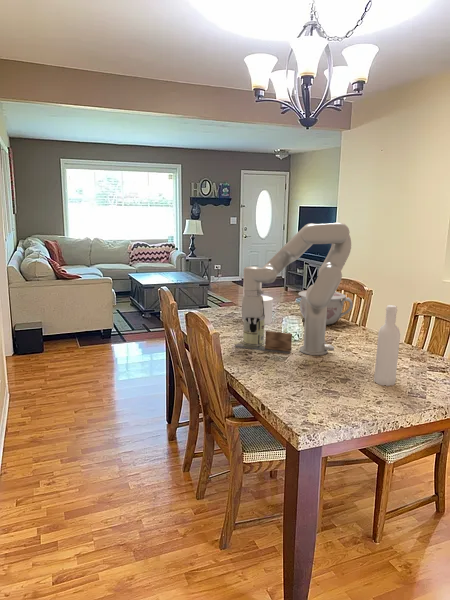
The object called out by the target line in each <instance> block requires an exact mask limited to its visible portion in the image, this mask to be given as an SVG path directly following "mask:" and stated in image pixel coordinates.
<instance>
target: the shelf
mask: <svg viewBox="0 0 450 600" xmlns="http://www.w3.org/2000/svg"><path fill="white" fill-rule="evenodd" d="M292 340H293V333H290V332H289V333H288V332H280V331H271V330H266V331H265V338H264V343H265V345H264V347H265V349H272V350H280V351H289V352H290V353H291V351H292V348H293V347H292Z"/></svg>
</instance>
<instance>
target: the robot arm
mask: <svg viewBox="0 0 450 600" xmlns="http://www.w3.org/2000/svg"><path fill="white" fill-rule="evenodd" d="M328 244H329V245H331V246H330V249H329V251H328V253H327V255H326V257H325V259H324V261H323V263H322V264H321V266H320V267H319V269H318V274H317V278H316V280H315V282H314V284H313V283H312V284H311V285H310V286H309V287H308V288H307V289H306V290H307V292H306V311H305V319H304V331H303V345H302V346H299V351H300V352H301V353H302V354H306V355H309V356H323V355H326V354H328V351H335V346H333V345H332V344H327V341H325V340H326V338H325V337H326V328H327V325H326V316H327V305H328V303H329V302H330V300H331V299H332V297H333V295H334V293H335V292H337V290H338V287H339V286H340V284H341V282H342V278H343V274H342V270H343V268H344V266H345V265H346V262H347V260H348V259H349V256H350V254H351V250H352V239H351V235H350V228H349V227H348V226H347V225H346V224H345V223H343V222H340V221H338V222H333V223H313V222H311V223H307V224H304V226H303V227H302V228H300V230H298V231H297V233H295V234H294V235H293V236H292V237H291V238H290V239H289V241H288V242H286V243H285V244H284V245H283V246H282V247H281V248H280V250H279V251H278V252H276V254H275V255H274V256H272V258H270V259H269V261H267V263H265V264H264V265H263V266H262V267H259V266H257V265H255V266H254V265H252V266H246V267H244V268H243V282H244V296H243V295H242V300H241V320H242V319H244V320H246V321H247V322H248V323H249V324H250V330H251V333H252V332H253V333H254V332H255V331H256V330H257V322H258V321H261V320H264V313H265V312H264V302H263V297H262V296H263V295H264V294H265V293H264V290H262V288H261V289H260V282H262V284H272V283H274V282H275V281H276V279H277V277H278V275H280V273H281V272H282V271H283V270H284V269H285V268H287V267H288V266H289V265H290V264H291V263H294V262H295V261H297V260H298V259H299V258H300V257H302V256H303V254H305V252H307V251H308V249H310V248H311V247H312V246H313V245H328ZM261 295H262V296H261ZM252 318H254V323H253V321H252Z"/></svg>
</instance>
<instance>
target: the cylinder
mask: <svg viewBox="0 0 450 600" xmlns="http://www.w3.org/2000/svg"><path fill="white" fill-rule="evenodd" d="M262 284H263V283H262V282H260V289H261V290H262ZM242 285H243V287H242V289H243V290H242V291H243V292H242V297H243V296H244V281H243V284H242ZM261 296H262V297H263V302H264V312H265V313H264V315H265V319H264V326H266V325H270V324H272V323H273V307H274V305H273V304H274V298H273V297H272V296H268V295H263V294H261ZM241 321H242V322H243V323H244V319H242V318H241Z"/></svg>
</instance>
